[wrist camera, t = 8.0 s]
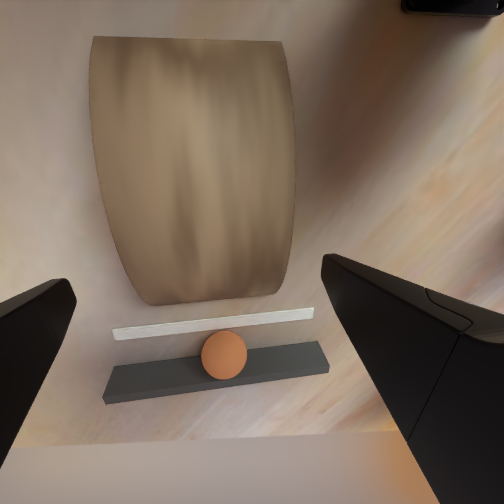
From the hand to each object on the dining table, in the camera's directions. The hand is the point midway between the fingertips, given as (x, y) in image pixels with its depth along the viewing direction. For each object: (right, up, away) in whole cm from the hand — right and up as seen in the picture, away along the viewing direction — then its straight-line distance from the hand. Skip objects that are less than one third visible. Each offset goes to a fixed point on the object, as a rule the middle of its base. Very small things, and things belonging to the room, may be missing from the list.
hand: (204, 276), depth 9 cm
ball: (-1, -8, +13) cm, 16 cm away
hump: (-4, +13, +24) cm, 28 cm away
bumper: (-1, -10, +16) cm, 19 cm away
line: (-1, -6, +14) cm, 15 cm away
